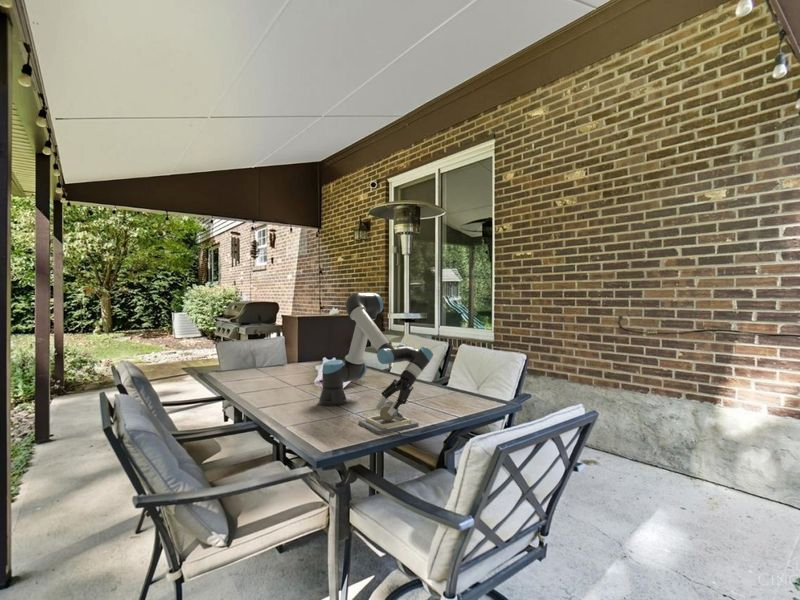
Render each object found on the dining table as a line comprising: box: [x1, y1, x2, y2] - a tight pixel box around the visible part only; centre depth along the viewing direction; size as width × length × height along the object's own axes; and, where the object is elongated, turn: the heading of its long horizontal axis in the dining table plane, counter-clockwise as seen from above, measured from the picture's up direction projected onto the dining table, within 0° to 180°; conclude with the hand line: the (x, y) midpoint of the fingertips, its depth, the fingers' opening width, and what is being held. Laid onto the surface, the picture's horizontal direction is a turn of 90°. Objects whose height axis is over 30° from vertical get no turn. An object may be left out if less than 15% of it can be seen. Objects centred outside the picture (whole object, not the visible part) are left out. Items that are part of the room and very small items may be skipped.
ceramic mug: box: [379, 401, 403, 421], centre depth 199 cm, size 11×8×8 cm
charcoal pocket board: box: [358, 414, 420, 435], centre depth 200 cm, size 18×22×3 cm
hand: (383, 411), depth 198 cm, fingers open, 10 cm apart
